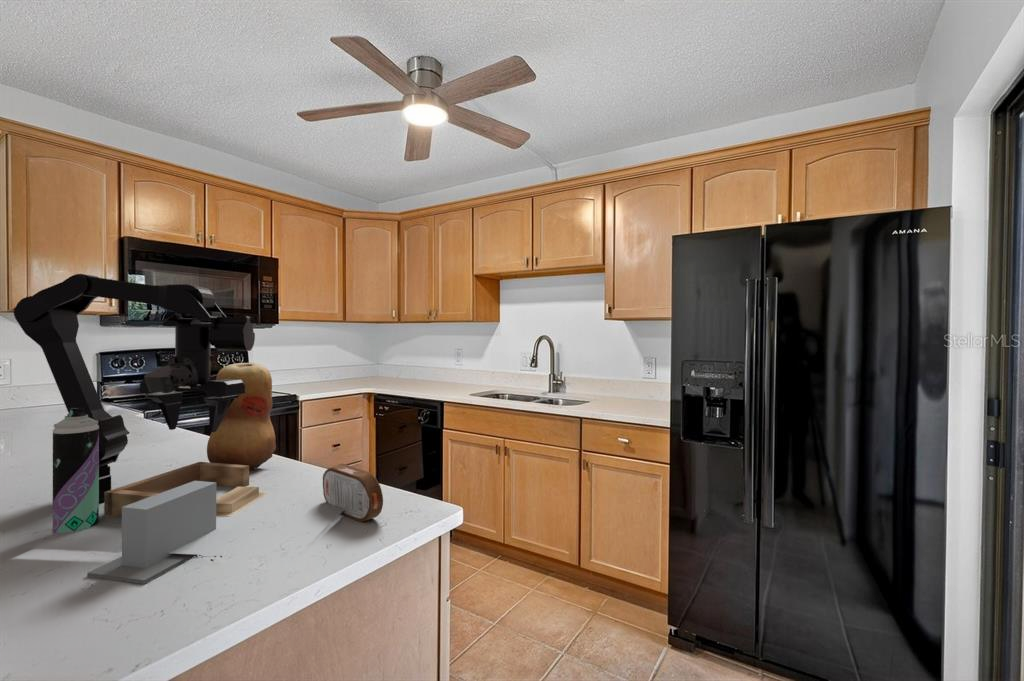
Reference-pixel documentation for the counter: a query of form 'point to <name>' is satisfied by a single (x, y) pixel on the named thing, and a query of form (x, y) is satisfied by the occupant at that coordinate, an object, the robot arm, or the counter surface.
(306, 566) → the counter surface
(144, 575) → the mat
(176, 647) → the counter surface
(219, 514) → the offcut lower
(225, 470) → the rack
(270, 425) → the butternut squash
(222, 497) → the offcut upper
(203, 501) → the gray rectangular block
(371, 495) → the tin
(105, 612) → the counter surface
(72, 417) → the spray can
